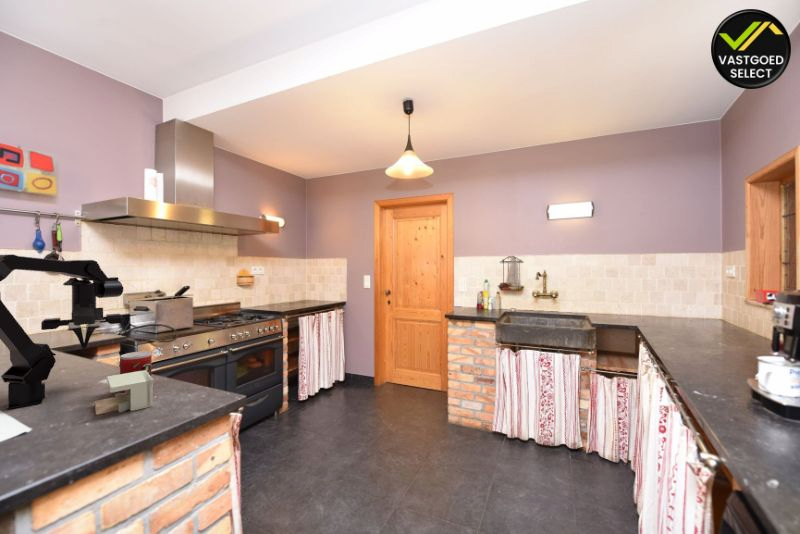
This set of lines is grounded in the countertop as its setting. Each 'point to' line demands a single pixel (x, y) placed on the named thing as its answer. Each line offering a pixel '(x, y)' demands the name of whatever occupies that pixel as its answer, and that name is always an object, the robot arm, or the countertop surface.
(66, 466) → the countertop surface
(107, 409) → the panel
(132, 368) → the canned food
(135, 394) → the pale green angular bracket
